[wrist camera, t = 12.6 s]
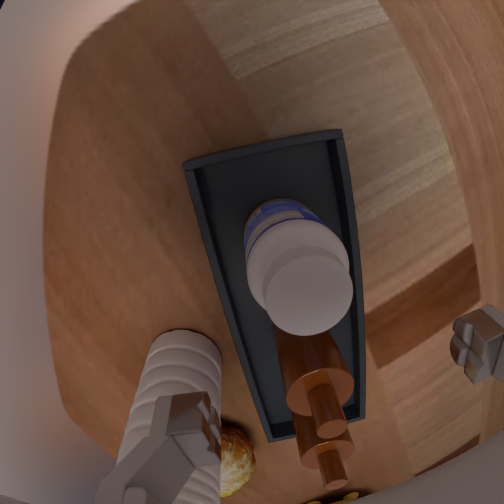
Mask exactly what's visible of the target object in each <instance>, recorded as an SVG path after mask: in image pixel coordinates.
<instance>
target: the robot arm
mask: <svg viewBox="0 0 504 504" xmlns="http://www.w3.org/2000/svg"><path fill="white" fill-rule="evenodd" d="M453 331H454V332H455V334H454V336H453V337H452V339H451V342H450V351H451V355H452V358H453V360H454V361H455V362H456V363H457V365H460V366H463V367H464V373H465V374H466V375H467V377H468V378H469V379H470V380H471V381H472V383H473V384H476V383H478V382H480V381H482V380H484V379H486V378H487V377H489V376H491V375H492V376H493V377H495V378H497V379H499V380H501V381H504V315H503V314H502V313H501V312H500V311H499V310H497V309H496V308H495V307H494V306H492V305H490V304H487V305H485V306H483V307H481V308H479V309H477V310H475V311H473V312H470V313H468V314H466V315H464V316H462V317H459V318H457V319H456V320H455V322H454V324H453ZM220 436H221V426H220V420H219V417H218V414H217V411H216V409H215V408H214V407H212V406H211V399H210V397H209V395H208V393H207V392H206V391H201V392H193V393H185V394H176V395H169V396H159V397H158V398H157V400H156V404H155V409H154V413H153V418H152V423H151V428H150V434H149V437H144V438H143V439H142V440H141V441H140V442H139V443H138V444H137V445H136V446H135V447H134V448H133V449H132V450H131V451H130V452H129V453H128V454H127V455H126V456H125V457H124V458H123V459H122V460H121V461H120V462H119V463H118V464H117V465H116V466H115V467H114V468H113V469H112V470H111V471H110V472H109V473H108V474H107V475H106V476H105V477H104V479H102V480H101V481H100V482H99V483H98V486H97V490H96V493H95V498H94V503H93V504H172V503H173V501H174V500H175V498H176V497H177V495H178V494H179V492H180V491H181V489H182V488H183V486H184V485H185V483H186V482H187V480H188V479H189V477H190V476H191V474H192V473H193V471H194V470H195V468H194V467H202V466H211V465H218V464H221V446H220V444H219V442H218V439H219V438H220ZM0 504H29V503H26V502H23V501H19V500H17V499H14V498H11V497H7V496H3V495H0ZM342 504H504V428H503V429H502V430H501V431H499V432H497V433H496V434H494V435H493V436H491V437H490V438H488V439H487V440H485V441H483V442H482V443H480V444H478V445H477V446H475V447H473V448H472V449H470V450H468V451H466V452H465V453H463V454H461V455H459V456H457V457H456V458H454V459H452V460H450V461H448V462H446V463H444V464H442V465H440V466H438V467H436V468H434V469H432V470H430V471H428V472H425V473H423V474H421V475H419V476H417V477H414V478H412V479H410V480H407V481H405V482H402V483H400V484H398V485H395V486H392V487H390V488H387V489H385V490H382V491H379V492H376V493H373V494H370V495H368V496H365V497H361V498H358V499H355V500H352V501H349V502H345V503H342Z"/></svg>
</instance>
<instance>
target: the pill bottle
mask: <svg viewBox="0 0 504 504" xmlns="http://www.w3.org/2000/svg"><path fill="white" fill-rule="evenodd" d="M244 245H245V256H246V271H247V280H248V284H249V288H250V290H251V293H252V295H253V297H254V298H255V300H256V301H257V302H258V303H259V304H260V305H261V306H262V307H263V308H264V309H265V310H267V312H268V315H269V316H270V318H271V320H272V321H273V322H274V324H275V325H277V326H278V327H279V328H280V329H282V330H284V331H286V332H288V333H290V334H294V335H300V336H308V335H315V334H318V333H321V332H324V331H326V330H328V329H330V328H331V327H333V326H334V325H335V324H337V323H338V322H339V321H340V320H341V319H342V318H343V317H344V315H345V314H346V312H347V311H348V309H349V307H350V304H351V301H352V296H353V285H352V280H351V278H350V275H349V260H348V255H347V252H346V249H345V247H344V245H343V244H342V242H341V241H340V239H339V238H338V237H337V236H336V235H335V234H334V233H333V232H332V231H331V230H330V229H329V228H328V227H327V226H326V225H325V224H324V223H323V222H322V221H321V220H320V219H319V218H318V217H317V216H316V215H315V214H314V213H313V212H312V211H311V210H310V209H309V208H307V207H306V206H305V205H303V204H301V203H300V202H297V201H295V200H291V199H274V200H270V201H268V202H265V203H263V204H262V205H260V206H259V207H257V208H256V209H255V210H254V211H253V212H252V214H251V215H250V217H249V218H248V220H247V222H246V225H245V230H244Z"/></svg>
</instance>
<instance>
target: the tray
mask: <svg viewBox="0 0 504 504" xmlns="http://www.w3.org/2000/svg"><path fill="white" fill-rule="evenodd" d="M182 165H183V169H184V171H185V176H186V180H187V184H188V188H189V191H190V195H191V199H192V203H193V206H194V210H195V214H196V217H197V221H198V224H199V228H200V231H201V235H202V239H203V242H204V246H205V249H206V252H207V256H208V259H209V263H210V266H211V270H212V273H213V276H214V280H215V283H216V286H217V290H218V293H219V296H220V299H221V303H222V306H223V309H224V312H225V316H226V319H227V322H228V325H229V328H230V331H231V335H232V338H233V341H234V344H235V347H236V350H237V353H238V356H239V359H240V362H241V365H242V368H243V371H244V374H245V377H246V380H247V383H248V386H249V389H250V392H251V395H252V398H253V401H254V404H255V406H256V409H257V412H258V415H259V418H260V421H261V423H262V426H263V429H264V432H265V435H266V437H267V440H268V442H269V443H270V442H275V441H280V440H285V439H290V438H295V437H296V436H295V431H294V426H293V422H292V417H291V412H290V408H289V407H288V405H287V403H286V398H285V393H284V389H283V384H282V379H281V374H280V369H279V364H278V360H277V355H276V350H275V345H274V340H273V335H272V323H273V321H272V320H271V318H270V316H269V315H268V312H267V310H265V309H264V308H263V307H262V306H261V305H260V304H259V303H258V302H257V301H256V300H255V298H254V297H253V295H252V293H251V290H250V288H249V284H248V280H247V271H246V256H245V245H244V230H245V225H246V222H247V220H248V218H249V217H250V215H251V214H252V212H253V211H254V210H255V209H256V208H257V207H259V206H260V205H262V204H263V203H265V202H268V201H270V200H274V199H291V200H295V201H297V202H300V203H301V204H303V205H305V206H306V207H307V208H309V209H310V210H311V211H312V212H313V213H314V214H315V215H316V216H317V217H318V218H319V219H320V220H321V221H322V222H323V223H324V224H325V225H326V226H327V227H328V228H329V229H330V230H331V231H332V232H333V233H334V234H335V235H336V236H337V237H338V238H339V239H340V241H341V242H342V244H343V245H344V247H345V249H346V252H347V255H348V260H349V275H350V278H351V280H352V285H353V296H352V301H351V304H350V307H349V309H348V311H347V312H346V314H345V315H344V317H343V318H342V319H341V320H340V321H339V322H338V323H337V324H335V325H334V326H333V327H331V328H330V331H331V333H332V335H333V337H334V339H335V341H336V343H337V345H338V348H339V350H340V352H341V354H342V356H343V358H344V360H345V362H346V364H347V366H348V369H349V371H350V373H351V375H352V377H353V380H354V390H353V393H352V395H351V396H350V398H349V399H348V400H347V401H346V402H345V403H344V404H343V405H342V406H341V407H342V410H343V412H344V415H345V417H346V420H347V423H352V422H355V421H358V420H361V419H364V418H365V403H366V346H365V317H364V299H363V284H362V271H361V260H360V249H359V239H358V230H357V222H356V214H355V206H354V199H353V192H352V185H351V178H350V172H349V166H348V160H347V154H346V149H345V143H344V139H343V133H342V129H330V130H323V131H317V132H311V133H306V134H300V135H294V136H289V137H284V138H279V139H274V140H269V141H264V142H259V143H255V144H250V145H246V146H241V147H237V148H233V149H228V150H224V151H220V152H216V153H212V154H208V155H204V156H200V157H197V158H193V159H189V160H187V161H185V162H183V163H182Z"/></svg>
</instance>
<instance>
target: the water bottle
mask: <svg viewBox="0 0 504 504" xmlns="http://www.w3.org/2000/svg"><path fill="white" fill-rule="evenodd" d="M221 377H222V359H221V355H220V352H219V350H218V348H217V347H216V346H215V345H214V344H213V343H212V341H211V340H210V339H208V338H207V337H205V336H203V335H202V334H199V333H193V332H192V331H189V330H174V331H172V332H166V333H163V334H162V335H160V336H159V337H157V338H156V339H155V341H154V342H153V343H152V345H151V347H150V349H149V352H148V355H147V358H146V362H145V366H144V368H143V371H142V374H141V378H140V383H139V385H138V387H137V390H136V394H135V398H134V403H133V405H132V407H131V410H130V415H129V419H128V421H127V424H126V428H125V432H124V438H123V440H122V443H121V446H120V449H119V453H118V458H117V463H116V465H117V464H118V463H119V462H120V461H121V460H122V459H123V458H124V457H125V456H126V455H127V454H128V453H129V452H130V451H131V450H132V449H133V448H134V447H135V446H136V445H137V444H138V443H139V442H140V441H141V440H142V439H143V438H144V437H149V434H150V428H151V423H152V418H153V413H154V409H155V404H156V400H157V398H158V397H159V396H169V395H176V394H185V393H193V392H201V391H206V392H207V393H208V395H209V397H210V399H211V406H212V407H214V408H215V409H216V411H217V414H218V417H219V420H220V426H221V419H220V414H221ZM218 442H219V444H220V446H221V437H220V438H219V439H218ZM194 468H195V470H194V471H193V473H192V474H191V476H190V477H189V479H188V480H187V482H186V483H185V485H184V486H183V488H182V489H181V491H180V492H179V494H178V495H177V497H176V498H175V500H174V501H173V503H172V504H221V501H220V477H221V464H218V465H211V466H202V467H194Z"/></svg>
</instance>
